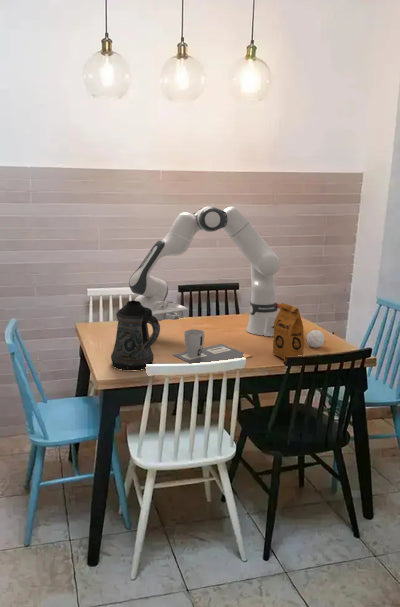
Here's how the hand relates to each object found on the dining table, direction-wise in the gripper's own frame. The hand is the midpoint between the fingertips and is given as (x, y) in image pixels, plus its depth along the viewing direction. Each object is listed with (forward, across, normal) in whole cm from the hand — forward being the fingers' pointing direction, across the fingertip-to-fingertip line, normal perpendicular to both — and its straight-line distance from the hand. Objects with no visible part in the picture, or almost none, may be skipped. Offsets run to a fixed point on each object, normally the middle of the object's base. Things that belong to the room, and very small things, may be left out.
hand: (176, 317), depth 227 cm
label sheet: (+16, +7, +13) cm, 22 cm away
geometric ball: (+32, +51, +13) cm, 62 cm away
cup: (+12, 0, +13) cm, 18 cm away
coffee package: (+36, +31, +13) cm, 49 cm away
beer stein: (+7, -24, +14) cm, 29 cm away
